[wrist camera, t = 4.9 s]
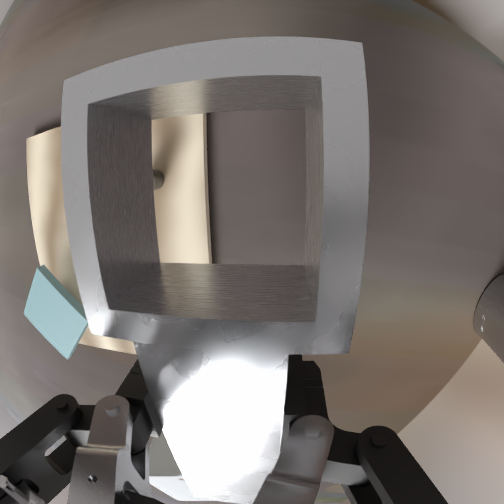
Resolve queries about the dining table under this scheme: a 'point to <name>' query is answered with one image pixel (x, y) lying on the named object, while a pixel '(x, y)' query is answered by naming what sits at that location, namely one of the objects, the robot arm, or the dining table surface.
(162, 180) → the cylinder
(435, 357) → the dining table surface
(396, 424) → the dining table surface
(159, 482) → the supplement box
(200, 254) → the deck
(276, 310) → the link
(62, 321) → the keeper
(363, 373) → the dining table surface
